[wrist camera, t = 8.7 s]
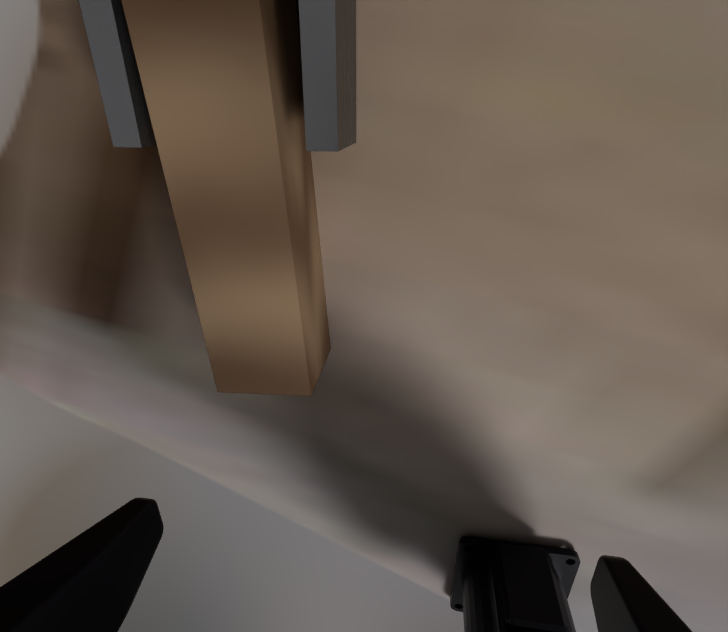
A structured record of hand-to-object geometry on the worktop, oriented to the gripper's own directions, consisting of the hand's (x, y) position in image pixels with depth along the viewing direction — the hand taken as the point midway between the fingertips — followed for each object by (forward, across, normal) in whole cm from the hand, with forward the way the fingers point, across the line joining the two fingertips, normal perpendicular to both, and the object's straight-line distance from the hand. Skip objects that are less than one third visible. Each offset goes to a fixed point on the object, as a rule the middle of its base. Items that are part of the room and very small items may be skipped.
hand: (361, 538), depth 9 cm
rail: (+12, +6, -5) cm, 14 cm away
